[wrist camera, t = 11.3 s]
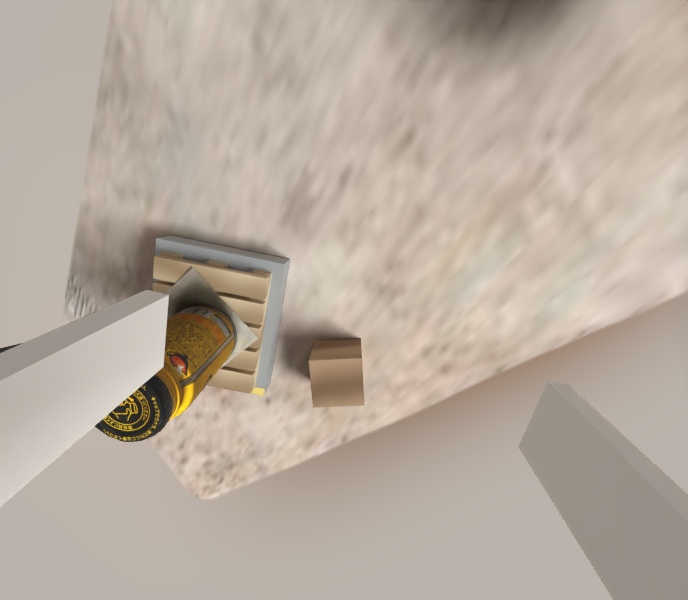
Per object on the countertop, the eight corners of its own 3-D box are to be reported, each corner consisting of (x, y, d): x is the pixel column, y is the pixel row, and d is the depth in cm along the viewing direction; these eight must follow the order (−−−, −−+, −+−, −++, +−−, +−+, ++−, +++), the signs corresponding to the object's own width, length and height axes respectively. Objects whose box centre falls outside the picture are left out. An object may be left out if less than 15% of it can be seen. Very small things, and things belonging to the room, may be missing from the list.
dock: (172, 235, 35) (155, 238, 32) (290, 259, 35) (284, 264, 32) (164, 360, 39) (148, 373, 36) (270, 381, 39) (263, 395, 36)
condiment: (204, 381, 34) (125, 474, 22) (139, 316, 32) (17, 379, 21) (259, 337, 32) (206, 412, 21) (194, 266, 31) (97, 304, 19)
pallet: (165, 250, 32) (154, 254, 30) (272, 272, 33) (266, 276, 31) (158, 366, 36) (147, 375, 34) (255, 385, 36) (250, 395, 34)
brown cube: (314, 340, 38) (308, 360, 33) (360, 338, 37) (361, 358, 33) (318, 382, 39) (313, 407, 34) (362, 380, 39) (364, 405, 34)
